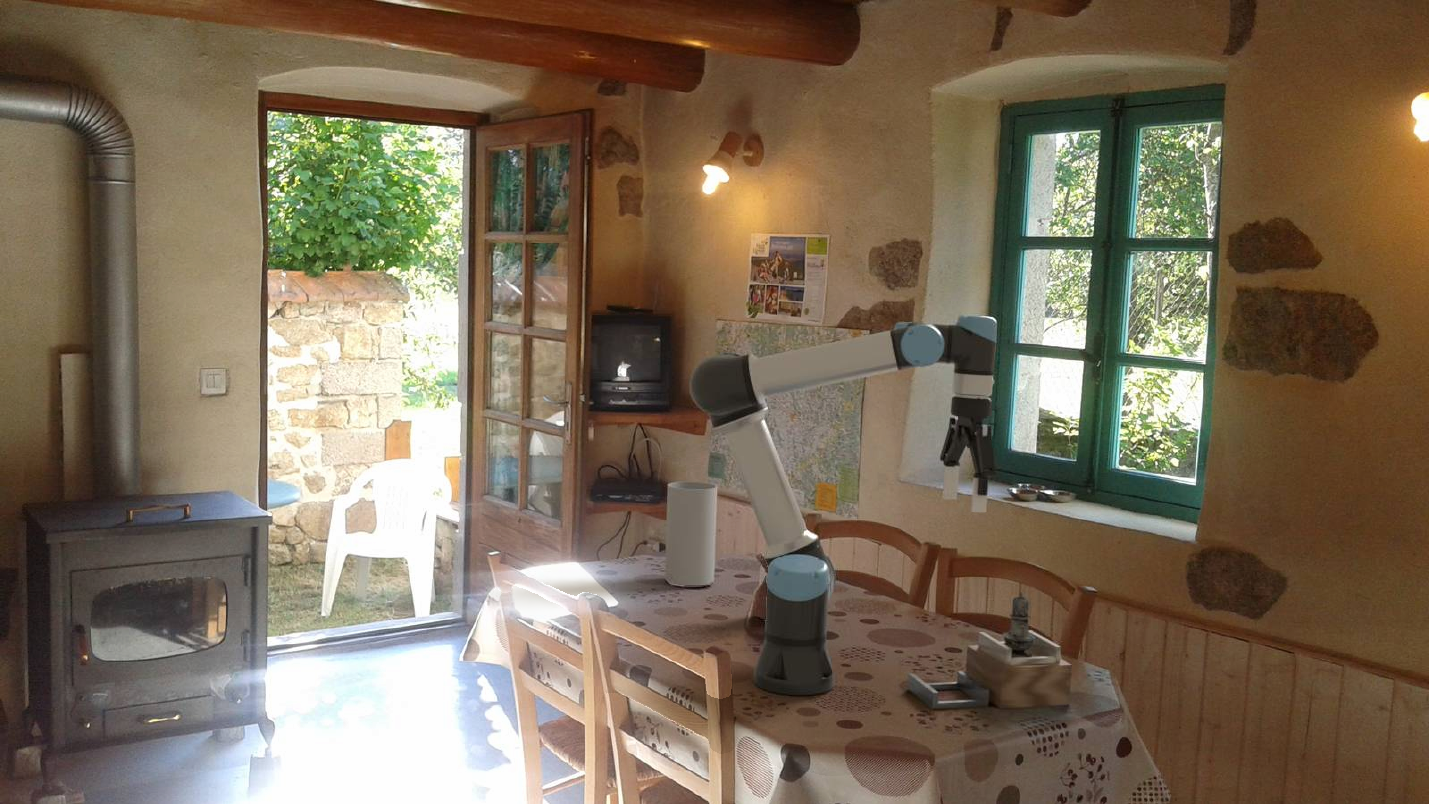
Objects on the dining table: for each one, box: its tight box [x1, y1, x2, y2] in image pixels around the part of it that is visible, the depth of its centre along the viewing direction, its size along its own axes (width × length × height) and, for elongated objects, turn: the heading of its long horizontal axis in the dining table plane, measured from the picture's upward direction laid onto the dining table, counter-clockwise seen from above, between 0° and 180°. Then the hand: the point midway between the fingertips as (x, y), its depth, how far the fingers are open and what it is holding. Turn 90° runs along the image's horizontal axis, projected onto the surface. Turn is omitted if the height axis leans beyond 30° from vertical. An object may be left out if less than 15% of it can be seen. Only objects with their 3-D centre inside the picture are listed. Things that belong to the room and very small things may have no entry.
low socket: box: [907, 670, 990, 710], centre depth 221 cm, size 11×11×3 cm
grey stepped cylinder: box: [1002, 591, 1035, 658], centre depth 223 cm, size 6×6×12 cm
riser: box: [965, 629, 1073, 709], centre depth 224 cm, size 14×14×10 cm
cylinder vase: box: [664, 481, 718, 585], centre depth 302 cm, size 12×12×25 cm
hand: (963, 505), depth 231 cm, fingers open, 13 cm apart
